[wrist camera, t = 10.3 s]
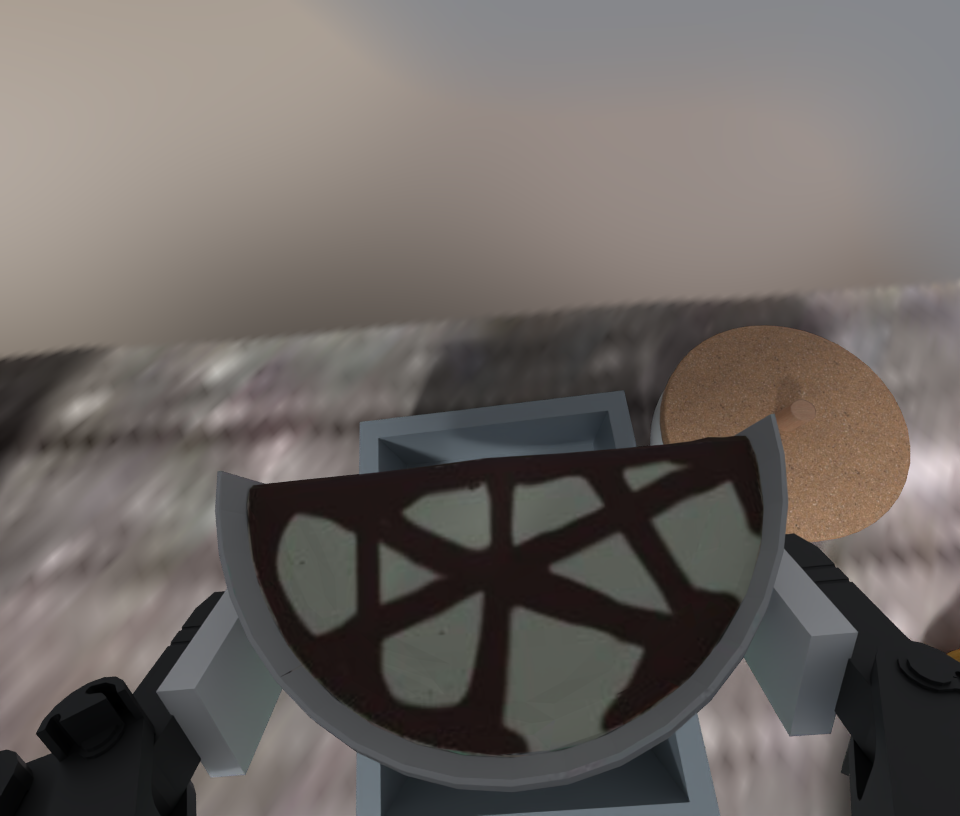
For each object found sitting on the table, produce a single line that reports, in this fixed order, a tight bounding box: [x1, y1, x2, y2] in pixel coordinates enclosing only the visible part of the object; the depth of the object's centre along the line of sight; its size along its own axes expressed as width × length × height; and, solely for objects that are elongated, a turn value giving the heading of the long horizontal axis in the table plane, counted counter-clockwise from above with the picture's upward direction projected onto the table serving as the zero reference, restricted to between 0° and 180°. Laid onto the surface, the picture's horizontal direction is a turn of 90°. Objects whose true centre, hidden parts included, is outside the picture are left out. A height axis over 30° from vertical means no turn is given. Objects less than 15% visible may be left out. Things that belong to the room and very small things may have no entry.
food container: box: [215, 414, 788, 792], centre depth 12 cm, size 12×6×10 cm, turn 95°
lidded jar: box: [650, 325, 910, 542], centre depth 24 cm, size 11×11×9 cm
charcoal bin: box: [356, 390, 720, 816], centre depth 24 cm, size 14×18×7 cm
